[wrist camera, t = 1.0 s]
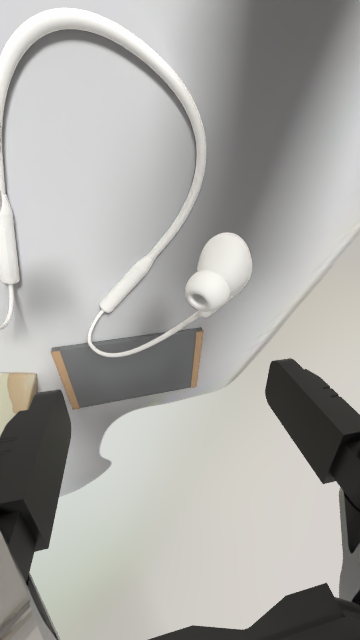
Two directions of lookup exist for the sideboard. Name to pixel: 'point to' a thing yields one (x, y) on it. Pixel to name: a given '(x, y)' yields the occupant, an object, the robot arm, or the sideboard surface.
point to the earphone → (219, 252)
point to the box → (15, 394)
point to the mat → (128, 367)
